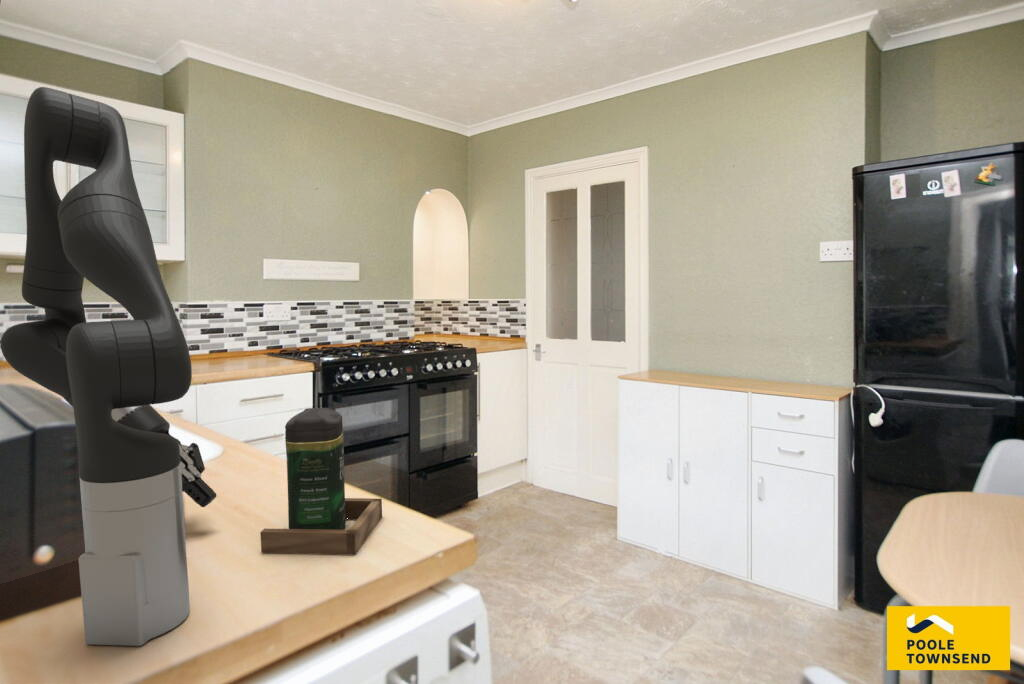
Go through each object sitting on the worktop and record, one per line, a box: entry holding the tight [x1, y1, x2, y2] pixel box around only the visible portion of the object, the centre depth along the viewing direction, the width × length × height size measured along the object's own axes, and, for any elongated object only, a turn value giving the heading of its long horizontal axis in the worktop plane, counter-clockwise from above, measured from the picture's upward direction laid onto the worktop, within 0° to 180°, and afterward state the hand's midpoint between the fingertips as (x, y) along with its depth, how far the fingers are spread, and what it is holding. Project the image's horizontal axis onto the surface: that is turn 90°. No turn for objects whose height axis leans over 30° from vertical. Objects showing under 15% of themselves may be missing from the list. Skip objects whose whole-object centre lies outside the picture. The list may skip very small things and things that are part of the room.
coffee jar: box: [284, 407, 347, 530], centre depth 89 cm, size 10×8×19 cm
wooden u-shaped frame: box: [259, 497, 383, 555], centre depth 89 cm, size 13×13×3 cm
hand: (210, 501), depth 90 cm, fingers closed
